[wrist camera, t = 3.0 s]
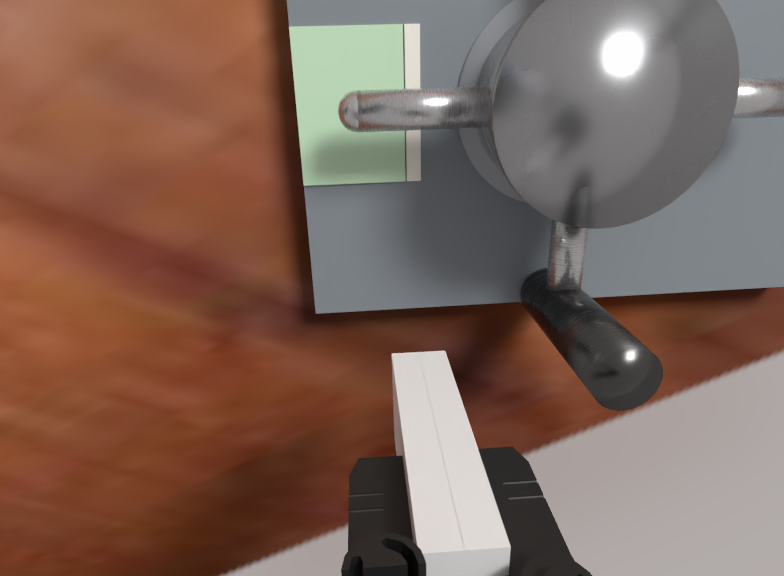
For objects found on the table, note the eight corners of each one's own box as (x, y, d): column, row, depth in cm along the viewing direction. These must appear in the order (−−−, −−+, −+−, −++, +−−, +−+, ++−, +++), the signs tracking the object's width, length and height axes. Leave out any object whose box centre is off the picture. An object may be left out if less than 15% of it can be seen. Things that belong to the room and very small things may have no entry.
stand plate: (317, 301, 21) (315, 314, 20) (283, -76, 16) (278, -89, 15) (779, 275, 22) (804, 286, 21) (877, -83, 17) (917, -95, 16)
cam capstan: (352, 324, 20) (354, 430, 14) (316, -237, 14) (292, -485, 8) (722, 302, 21) (873, 392, 15) (847, -233, 15) (1196, -451, 9)
